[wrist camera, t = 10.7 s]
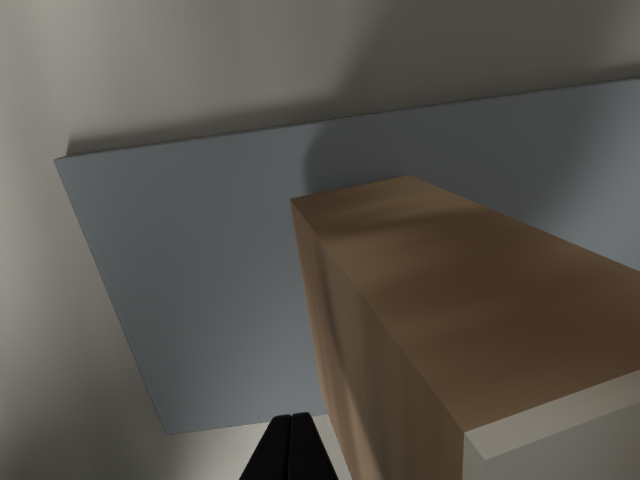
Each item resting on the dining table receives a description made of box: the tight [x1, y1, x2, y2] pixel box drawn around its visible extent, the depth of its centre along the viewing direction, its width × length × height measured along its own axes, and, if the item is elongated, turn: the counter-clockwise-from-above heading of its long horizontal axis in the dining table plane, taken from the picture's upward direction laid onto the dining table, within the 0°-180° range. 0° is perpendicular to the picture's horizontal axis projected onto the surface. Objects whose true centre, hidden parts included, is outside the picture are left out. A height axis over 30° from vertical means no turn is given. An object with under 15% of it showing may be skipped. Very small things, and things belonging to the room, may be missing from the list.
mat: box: [53, 77, 640, 435], centre depth 14 cm, size 20×12×1 cm, turn 97°
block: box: [290, 175, 640, 480], centre depth 9 cm, size 4×8×9 cm, turn 7°
